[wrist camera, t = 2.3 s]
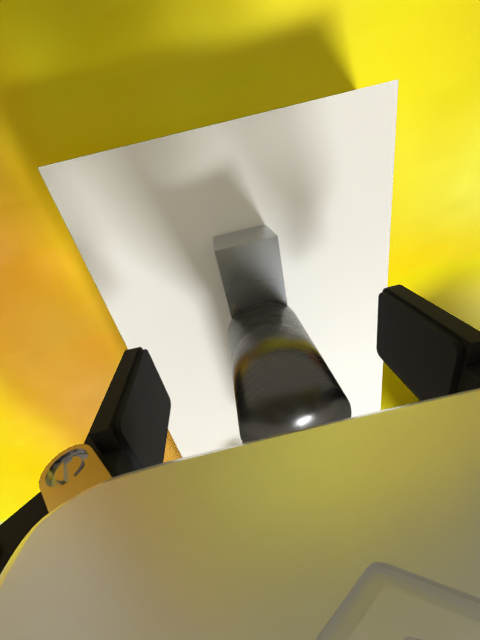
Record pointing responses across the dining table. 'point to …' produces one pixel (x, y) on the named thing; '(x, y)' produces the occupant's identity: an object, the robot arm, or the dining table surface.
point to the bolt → (271, 344)
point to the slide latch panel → (235, 215)
